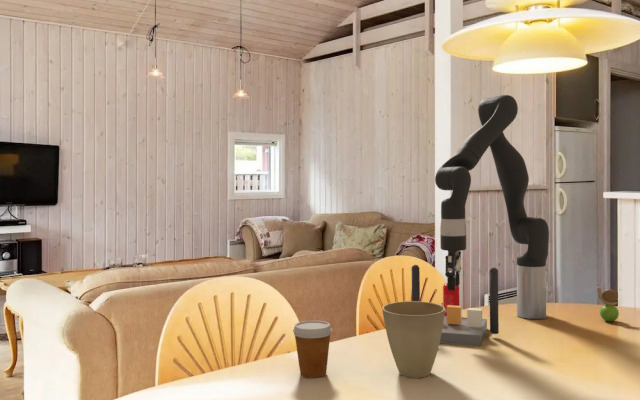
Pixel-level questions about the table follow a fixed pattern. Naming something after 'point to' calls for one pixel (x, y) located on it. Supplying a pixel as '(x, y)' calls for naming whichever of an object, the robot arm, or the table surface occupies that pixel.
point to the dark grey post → (494, 301)
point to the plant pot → (414, 335)
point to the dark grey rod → (415, 283)
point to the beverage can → (450, 297)
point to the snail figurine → (608, 304)
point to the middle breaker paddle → (454, 314)
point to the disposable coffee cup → (312, 347)
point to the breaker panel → (465, 329)
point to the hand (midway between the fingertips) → (453, 287)
